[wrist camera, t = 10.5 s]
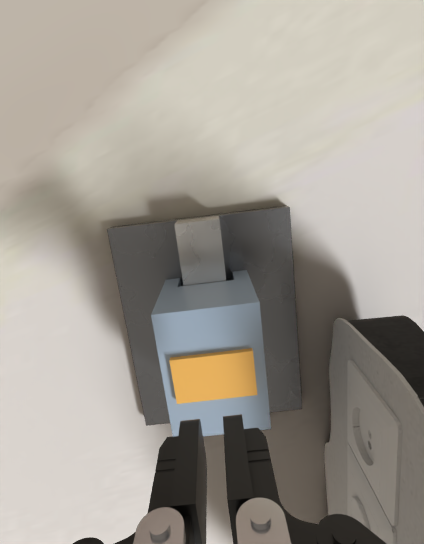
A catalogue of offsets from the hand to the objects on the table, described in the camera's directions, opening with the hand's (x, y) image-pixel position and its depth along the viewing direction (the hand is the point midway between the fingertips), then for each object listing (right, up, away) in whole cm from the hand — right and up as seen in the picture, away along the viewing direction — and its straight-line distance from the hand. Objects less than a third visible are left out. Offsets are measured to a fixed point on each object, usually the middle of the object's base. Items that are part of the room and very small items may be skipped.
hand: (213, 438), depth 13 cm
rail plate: (0, +3, +11) cm, 11 cm away
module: (0, +3, +10) cm, 10 cm away
